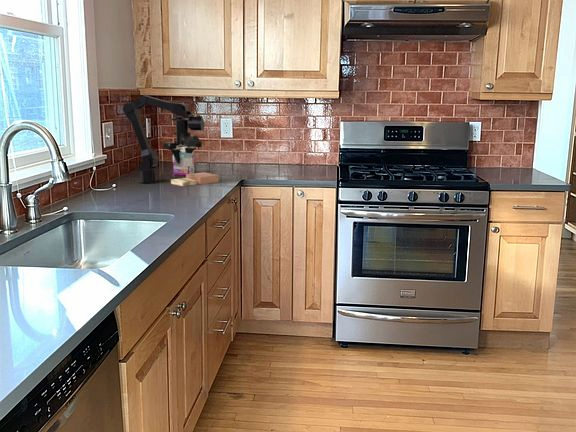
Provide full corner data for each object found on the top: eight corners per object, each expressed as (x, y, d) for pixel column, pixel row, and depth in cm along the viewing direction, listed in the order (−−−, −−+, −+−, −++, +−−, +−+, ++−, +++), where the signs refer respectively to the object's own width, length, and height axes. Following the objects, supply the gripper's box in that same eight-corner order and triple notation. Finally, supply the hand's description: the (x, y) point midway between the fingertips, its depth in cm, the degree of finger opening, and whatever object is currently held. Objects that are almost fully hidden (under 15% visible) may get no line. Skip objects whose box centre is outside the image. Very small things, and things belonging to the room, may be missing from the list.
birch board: (182, 186, 269) (182, 182, 269) (171, 183, 276) (170, 179, 276) (196, 184, 275) (196, 180, 274) (184, 181, 282) (184, 177, 281)
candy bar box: (195, 175, 304) (194, 144, 300) (189, 176, 300) (188, 145, 296) (178, 173, 309) (177, 143, 306) (172, 174, 305) (171, 144, 301)
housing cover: (183, 158, 268) (183, 152, 267) (173, 156, 274) (173, 151, 273) (192, 157, 271) (192, 151, 271) (182, 156, 277) (182, 150, 276)
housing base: (183, 166, 269) (183, 158, 268) (174, 165, 274) (174, 156, 274) (192, 165, 272) (192, 157, 271) (183, 164, 278) (182, 156, 277)
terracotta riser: (200, 184, 275) (200, 177, 274) (186, 181, 283) (186, 174, 283) (218, 181, 282) (218, 175, 282) (204, 179, 291) (204, 172, 290)
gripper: (174, 132, 258) (176, 166, 261) (208, 130, 270) (209, 163, 274) (161, 130, 266) (162, 163, 269) (194, 129, 278) (195, 160, 282)
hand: (183, 162), depth 273 cm, fingers closed on housing base, 5 cm apart
